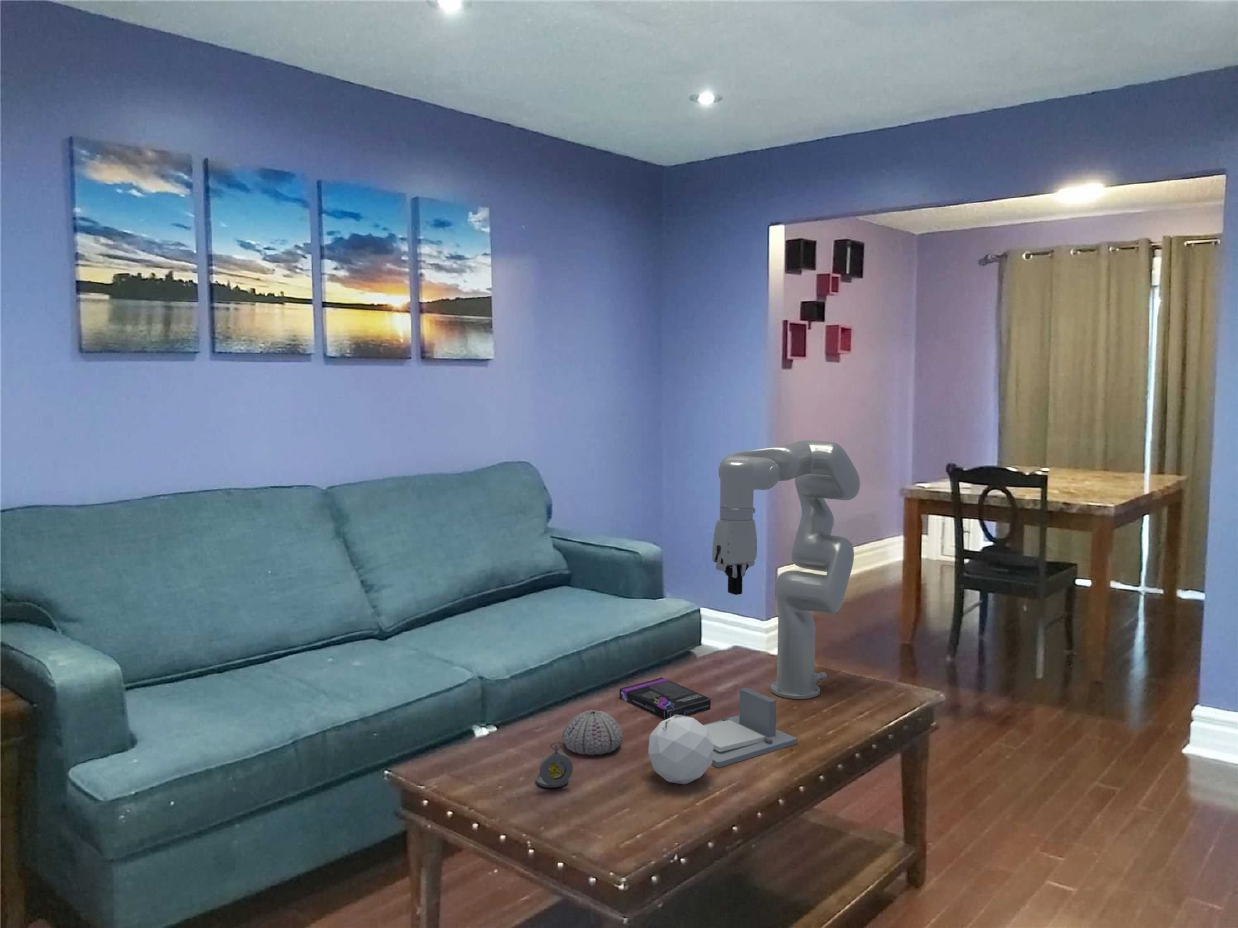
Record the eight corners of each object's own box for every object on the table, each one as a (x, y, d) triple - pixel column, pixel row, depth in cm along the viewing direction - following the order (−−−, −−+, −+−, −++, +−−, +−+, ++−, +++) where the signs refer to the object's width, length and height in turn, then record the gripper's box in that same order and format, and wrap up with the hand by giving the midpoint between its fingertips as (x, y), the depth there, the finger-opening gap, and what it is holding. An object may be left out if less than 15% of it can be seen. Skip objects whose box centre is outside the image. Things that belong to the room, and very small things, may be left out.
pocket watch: (551, 772, 198) (551, 725, 196) (582, 783, 192) (582, 736, 191) (523, 785, 191) (523, 737, 190) (554, 797, 186) (554, 748, 185)
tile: (685, 729, 214) (685, 733, 214) (720, 747, 204) (719, 752, 204) (729, 719, 221) (729, 724, 221) (764, 736, 211) (764, 741, 211)
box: (618, 701, 242) (667, 723, 226) (618, 687, 241) (667, 709, 226) (662, 689, 250) (711, 710, 234) (661, 676, 249) (711, 696, 234)
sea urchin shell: (617, 761, 203) (617, 725, 202) (555, 757, 206) (555, 721, 205) (627, 737, 216) (627, 703, 215) (569, 733, 219) (568, 699, 218)
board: (743, 718, 228) (744, 680, 227) (797, 743, 213) (798, 703, 212) (666, 739, 215) (666, 699, 214) (718, 767, 200) (718, 724, 199)
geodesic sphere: (676, 778, 182) (702, 711, 187) (621, 759, 191) (648, 695, 196) (710, 801, 191) (734, 737, 196) (657, 782, 200) (681, 720, 205)
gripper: (749, 509, 224) (748, 586, 226) (700, 514, 216) (699, 594, 217) (772, 513, 218) (770, 592, 220) (721, 519, 209) (720, 601, 211)
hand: (734, 593), depth 219 cm, fingers closed
